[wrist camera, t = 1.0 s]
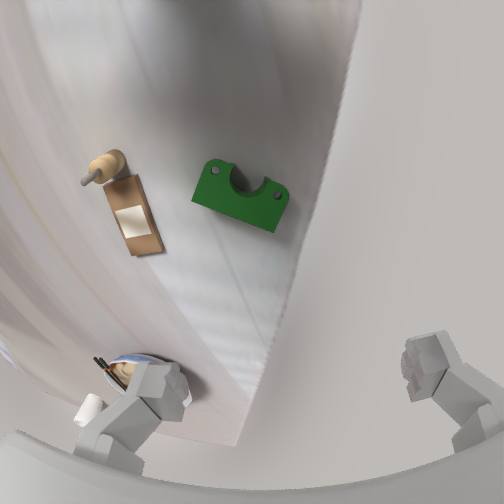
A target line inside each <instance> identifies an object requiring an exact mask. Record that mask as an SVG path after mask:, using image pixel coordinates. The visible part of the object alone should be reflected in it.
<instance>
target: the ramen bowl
mask: <svg viewBox="0 0 504 504" xmlns="http://www.w3.org/2000/svg"><path fill="white" fill-rule="evenodd" d="M94 360H95V362H96V363H97V364H98V365H99V366H100V367H101V368H102V369H103V370H104V376H105V378H106V379H107V381H108V382H109V384H110V385H111V386H112V387H113V388H115V389H116V390H117V391H118V392H119V393H121V394H122V395H125V393H126V390H127V388H128V385H129V382H130V380H131V377H132V375H133V372H134V370H135V367H136V365H137V363H138V362H139V361H152V362H164V361H163V360H160V359H158V358H155V357H152V356H148V355H142V354H129V355H124V356H121V357H119V358H117V359H115V360H113V361H112V362H111V363H110V364H108V365H107V364H106V362H105V361H104V360H103V359H102V358H99V360H100V361H99V360H98V359H97V358H96V357H94ZM102 364H103V365H104V366H105V367H104V366H103V365H102ZM188 387H189V386H188ZM192 400H193V399H192V396H191V393H190V390H189V391H188V396H187V398H186V399H185V400H184V401H183V402H182V403H183V405H184V407H188V406H189V405H190V404H191V402H192Z"/></svg>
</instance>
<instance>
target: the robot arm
mask: <svg viewBox="0 0 504 504" xmlns="http://www.w3.org/2000/svg"><path fill="white" fill-rule="evenodd" d="M405 347H406V351H405V352H404V353H403V354H402V358H401V369H402V374H403V377H404V378H405V379H406V380H408V381H409V383H408V386H407V390H408V393H409V397H410V400H411V402H415V401H419V400H423V399H426V398H430V397H432V399H433V400H434V401H435V402H436V403H437V404H438V405H439V406H440V407H441V408H442V409H443V410H444V411H445V412H446V413H448V414H449V415H450V416H451V417H452V418H453V419H454V420H455V421H456V422H457V423H458V424H459V425H460V426H461V428H460V429H459V431H458V432H457V433H456V434H455V435H454V436H453V438H452V443H453V447H454V451H455V454H453V455H451V456H448V457H445V458H443V459H440V460H437V461H434V462H432V463H429V464H426V465H422V466H420V467H416V468H413V469H409V470H406V471H402V472H399V473H395V474H391V475H387V476H383V477H379V478H374V479H369V480H364V481H359V482H353V483H347V484H340V485H333V486H325V487H316V488H305V489H287V490H240V489H223V488H212V487H202V486H194V485H186V484H180V483H174V482H168V481H163V480H158V479H153V478H149V477H144V476H142V471H143V467H144V463H145V462H144V461H143V459H142V458H140V457H138V456H137V455H136V454H134V453H135V452H136V451H137V449H138V448H139V447H140V446H141V445H142V444H143V443H144V442H145V440H146V439H147V438H148V437H149V436H150V435H151V434H152V433H153V431H154V430H155V429H156V428H157V427H158V426H159V424H160V423H161V422H162V421H175V422H182V418H183V414H184V409H185V407H184V405H183V403H182V402H183V401H184V400H185V399H186V398H187V396H188V391H189V387H188V381H187V378H186V376H185V375H184V374H182V373H181V372H179V371H180V367H179V365H178V364H177V363H173V362H152V361H139V362H138V363H137V365H136V367H135V370H134V372H133V375H132V377H131V380H130V382H129V385H128V388H127V390H126V393H125V395H121V396H120V397H118V398H117V399H116V400H115V401H114V402H113V403H111V404H110V405H109V406H108V407H107V408H106V409H104V410H103V411H102V412H101V413H100V414H98V415H97V416H96V417H95V418H94V419H92V420H91V421H90V422H89V423H88V424H87V425H85V426H84V427H83V429H82V431H81V434H80V436H79V439H78V442H77V444H76V448H75V450H74V453H73V454H70V453H67V452H65V451H63V450H60V449H58V448H56V447H53V446H51V445H49V444H47V443H45V442H42V441H40V440H38V439H36V438H34V437H32V436H30V435H28V434H26V433H25V432H22V431H20V430H14V431H12V432H10V433H9V434H7V435H6V436H4V437H3V438H1V439H0V504H504V388H502V387H501V386H500V385H498V384H497V383H495V382H494V381H492V380H491V379H489V378H488V377H486V376H485V375H483V374H482V373H481V372H479V371H478V370H476V369H475V368H473V367H472V366H470V365H469V364H467V363H464V364H463V362H462V360H461V358H460V356H459V354H458V352H457V350H456V348H455V346H454V344H453V342H452V340H451V338H450V336H449V334H448V332H447V331H445V330H442V331H438V332H434V333H429V334H425V335H421V336H417V337H413V338H409V339H408V340H407V341H406V344H405ZM161 420H162V421H161Z"/></svg>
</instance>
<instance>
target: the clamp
mask: <svg viewBox="0 0 504 504" xmlns="http://www.w3.org/2000/svg"><path fill="white" fill-rule="evenodd" d="M234 165H235V164H233V163H227V162H225V161H222V160H219V159H213V160H210V161H209V162H207V163H206V165H205V166H204V169H203V171H202V174H201V177H200V179H199V182H198V184H197V187H196V190H195V192H194V195H193V198H192V200H191V201H192V202H195V203H197V204H200V205H203V206H205V207H208V208H211V209H213V210H216V211H218V212H221V213H224V214H226V215H229V216H231V217H234V218H237V219H239V220H242V221H244V222H247V223H249V224H252V225H254V226H257V227H259V228H262V229H265V230H267V231H270V232H272V233H274V231H275V229H276V226H277V224H278V222H279V220H280V218H281V215H282V213H283V211H284V209H285V206H286V204H287V202H288V200H289V192H288V190H287V189H286V188H285V187H284V186H283V185H281V184H279V183H276V182H274V181H272V180H270V179H269V178H268V177H266V176H265V179H264V182H263V184H262V185H261V187H260V188H258V189H257V190H255V191H252V192H243V191H240V190H238V189H237V188H236V187H235V186H234V185H233V183H232V181H231V177H230V174H231V170H232V168H233V167H234ZM213 166H217V167H218V168H219V170H220V171H219V173H218V174H213V173H212V167H213ZM275 192H280V193H281V195H280V197H279V198H274V197H273V195H274V193H275Z"/></svg>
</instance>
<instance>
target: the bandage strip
mask: <svg viewBox="0 0 504 504" xmlns="http://www.w3.org/2000/svg"><path fill="white" fill-rule="evenodd" d="M103 189H104V191H105V194H106V196H107V199H108V202H109V204H110V207H111V209H112V212H113V214H114V217H115V219H116V221H117V224H118V226H119V229H120V231H121V233H122V236H123V238H124V240H125V242H126V245H127V247H128V249H129V251H130V254H131V256H136V255H142V254H149V253H155V252H162V251H163V249H164V245H163V243H162V240H161V238H160V235H159V233H158V230H157V227H156V225H155V222H154V219H153V217H152V214H151V211H150V208H149V206H148V203H147V200H146V197H145V194H144V192H143V189H142V186H141V183H140V180H139V177H138V174H136V175H133V176H129V177H126V178H122V179H119V180H116V181H113V182H109V183H106V184H105V185H104V186H103Z"/></svg>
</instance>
